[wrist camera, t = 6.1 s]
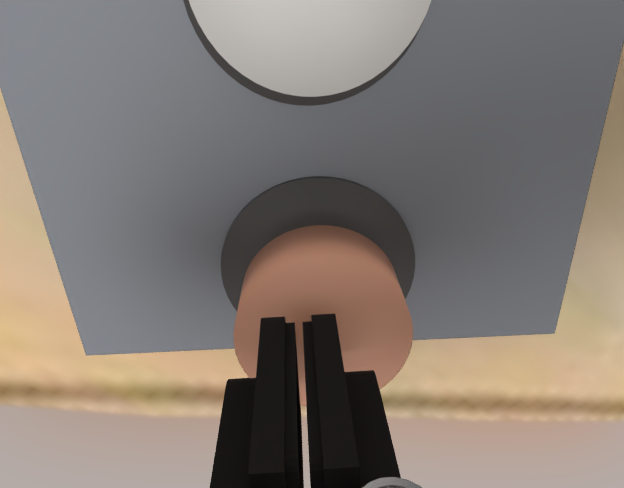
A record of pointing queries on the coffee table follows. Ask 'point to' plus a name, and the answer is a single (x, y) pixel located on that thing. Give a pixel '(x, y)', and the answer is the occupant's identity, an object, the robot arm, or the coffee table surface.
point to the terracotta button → (327, 299)
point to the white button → (310, 40)
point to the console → (307, 162)
